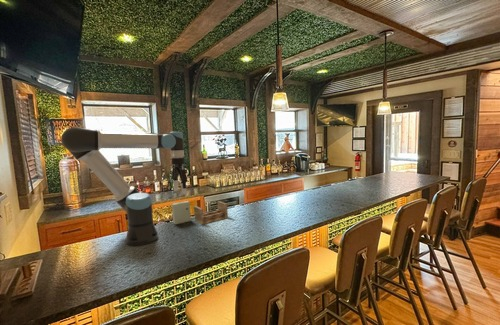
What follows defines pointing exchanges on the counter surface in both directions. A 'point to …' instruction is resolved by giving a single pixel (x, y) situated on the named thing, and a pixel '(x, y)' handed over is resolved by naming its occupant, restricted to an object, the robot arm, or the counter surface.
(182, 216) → the door panel
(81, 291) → the counter surface
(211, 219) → the track
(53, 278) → the counter surface
